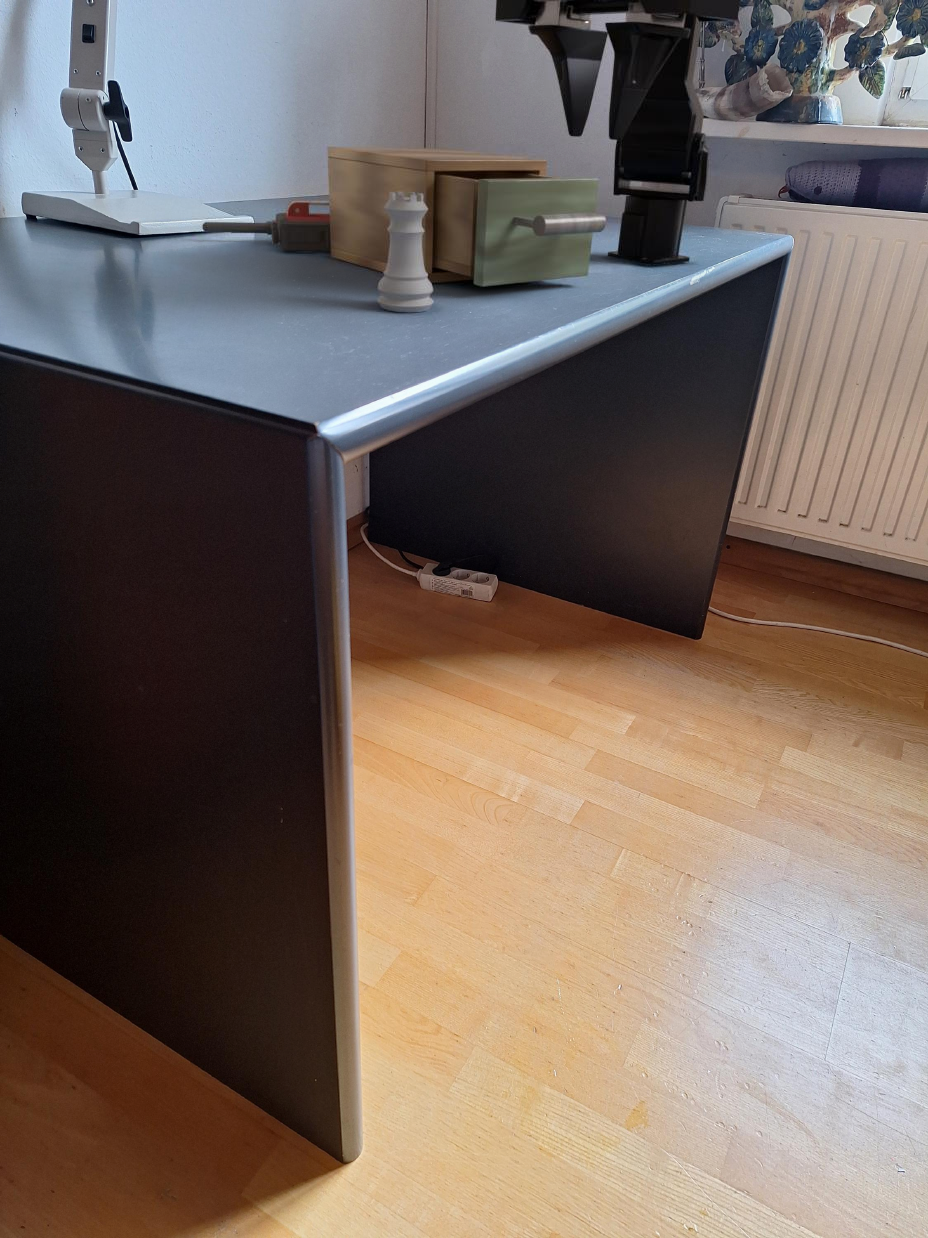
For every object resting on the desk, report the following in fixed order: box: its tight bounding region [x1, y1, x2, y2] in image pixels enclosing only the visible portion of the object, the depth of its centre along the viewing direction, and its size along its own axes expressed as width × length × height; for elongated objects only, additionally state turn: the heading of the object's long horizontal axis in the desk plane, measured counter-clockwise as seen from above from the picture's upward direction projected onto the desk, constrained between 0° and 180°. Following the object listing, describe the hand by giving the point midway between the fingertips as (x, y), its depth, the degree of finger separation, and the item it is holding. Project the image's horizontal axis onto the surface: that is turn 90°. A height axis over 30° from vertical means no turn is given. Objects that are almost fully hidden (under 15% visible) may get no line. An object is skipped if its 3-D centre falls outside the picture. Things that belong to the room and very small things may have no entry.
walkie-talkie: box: [201, 199, 331, 253], centre depth 90 cm, size 9×4×20 cm
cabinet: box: [326, 146, 548, 284], centre depth 82 cm, size 16×14×10 cm
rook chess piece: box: [376, 192, 435, 313], centre depth 65 cm, size 4×4×8 cm
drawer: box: [432, 171, 607, 288], centre depth 76 cm, size 18×12×8 cm
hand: (594, 137), depth 65 cm, fingers open, 4 cm apart
